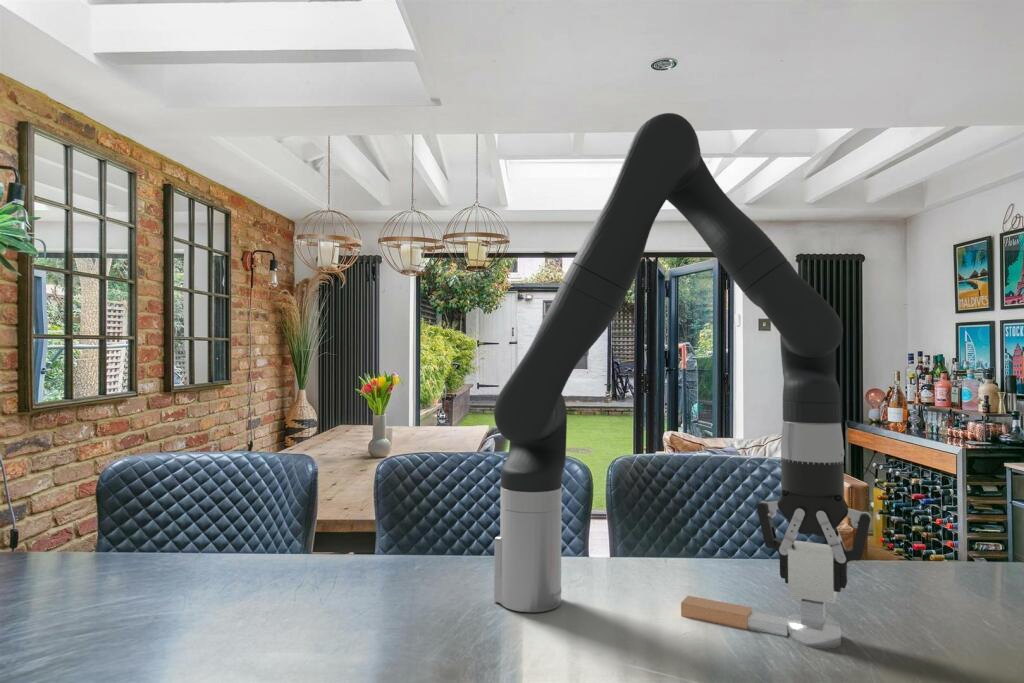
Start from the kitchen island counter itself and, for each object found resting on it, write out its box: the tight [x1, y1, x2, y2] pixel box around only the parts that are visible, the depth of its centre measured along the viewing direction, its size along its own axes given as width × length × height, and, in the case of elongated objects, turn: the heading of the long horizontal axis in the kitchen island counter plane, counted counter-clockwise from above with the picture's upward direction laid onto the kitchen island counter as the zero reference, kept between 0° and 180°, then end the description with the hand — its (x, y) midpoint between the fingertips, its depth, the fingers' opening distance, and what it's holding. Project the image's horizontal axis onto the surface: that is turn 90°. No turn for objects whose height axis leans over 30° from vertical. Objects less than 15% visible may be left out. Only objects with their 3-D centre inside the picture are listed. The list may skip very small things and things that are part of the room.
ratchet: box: [680, 595, 842, 650], centre depth 90 cm, size 20×6×5 cm, turn 59°
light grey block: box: [787, 539, 838, 605], centre depth 87 cm, size 5×5×6 cm
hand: (813, 585), depth 87 cm, fingers closed on light grey block, 5 cm apart
